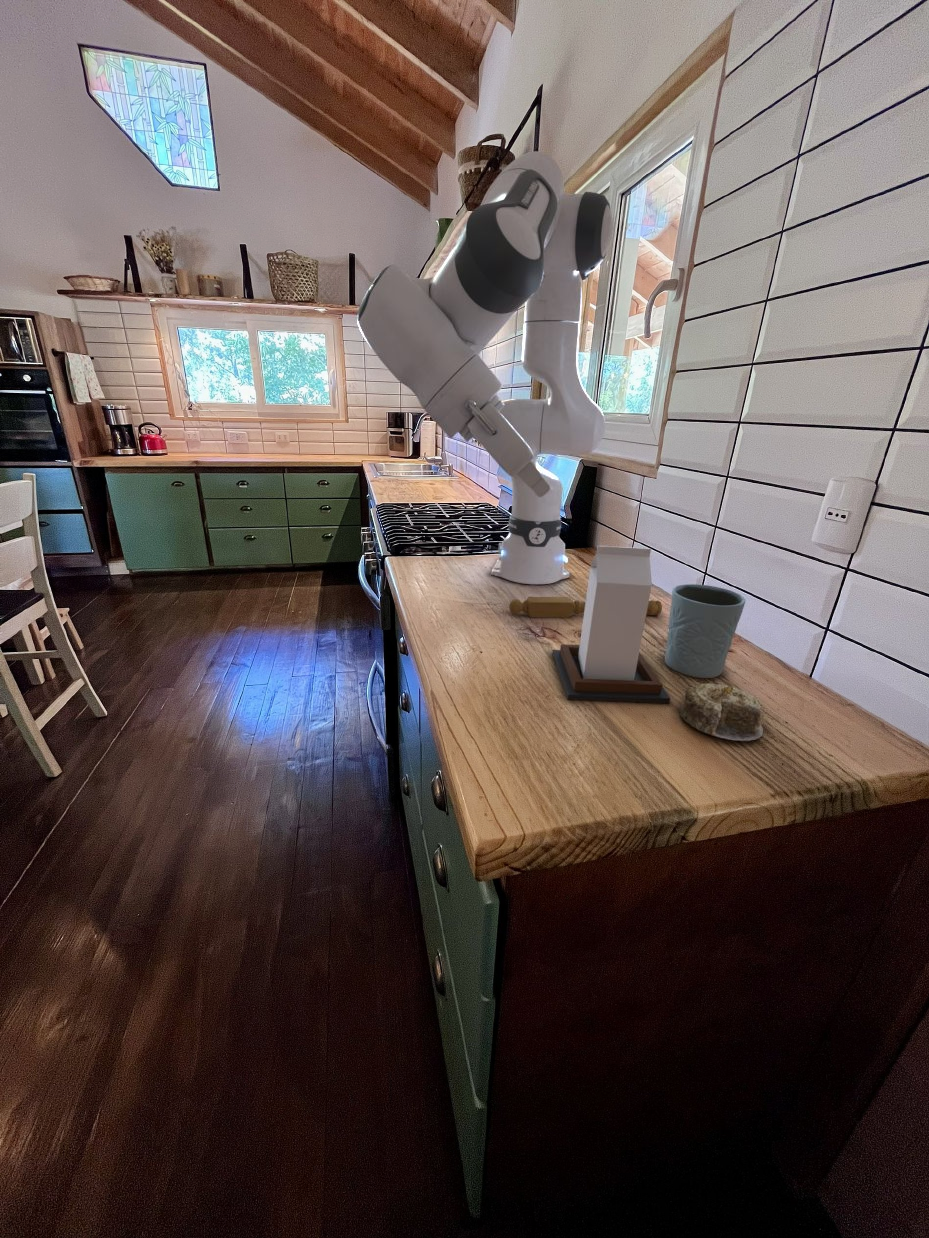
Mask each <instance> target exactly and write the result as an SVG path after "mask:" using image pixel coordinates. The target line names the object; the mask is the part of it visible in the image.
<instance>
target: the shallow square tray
mask: <svg viewBox="0 0 929 1238" xmlns="http://www.w3.org/2000/svg"><path fill="white" fill-rule="evenodd" d="M579 647H580V644H562V643H561V644H560V649H553V650H552V657H553V660H554V663H555V666H556V669H557V673H558V675H559V679H560V682H561V684H562V687H563V691H564V693H565V696H566V699H567V700H568V701H591V702H592V701H593V702H617V703H618V702H621V703H622V702H624V703H627V702H628V703H646V704H647V703H652V704H670V702H671V698H670V695H669V694H668V693H667V691H666V690H665V688H664V687H663V683H662V682H661V680H660V679H659V678H658V677H657V675H656V673H655V672H654V671H653V669H652V668H651V666H650V665H649V663H648V662H647V661H646V659H645V658H644V657H643V655H642V653H641V652H640V651H639V656H638V661H637V666H636V672H635V677H634V681H633V680H604V679H583V676H582V672H581V667H580V663H579V659H578V654H579Z"/></svg>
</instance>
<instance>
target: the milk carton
mask: <svg viewBox="0 0 929 1238" xmlns="http://www.w3.org/2000/svg"><path fill="white" fill-rule="evenodd" d="M651 552H652V548H647V547H646V548H645V547H630V546H629V547H626V546H611V545H597V546H596V551H595V555H594V558H593V560H592V562H591V564H590V567H589V574H588V581H587V589H586V595H585V596H586V597H585V602H586V603H585V610H584V613H583V618H582V626H581V632H580V641H579V645H580V647H579V654H578V659H579V663H580V667H581V672H582V676H583V679H604V680H633V681H634V677H635V672H636V666H637V661H638V656H639V652H640V650H641V644H642V639H643V634H644V628H645V624H646V618H647V608H648V602H649V601H650V598H651V597H650V596H651V592H652V586H653V580H652V570H651V568H652V567H651Z"/></svg>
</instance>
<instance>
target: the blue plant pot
mask: <svg viewBox="0 0 929 1238" xmlns="http://www.w3.org/2000/svg"><path fill="white" fill-rule="evenodd" d="M745 604H746V599H745V598H744V596H743V595H741V594H740V593H737V592H736V591H733V590H730V589H726V588H723V587H719V586H713V585H708V584H707V585H706V584H697V583H696V584H695V583H689V584H686V583H685V584H679V585H676V586H674V587H673V588H672V592H671V602H670V610H669V618H668V626H667V627H668V631H667V636H666V646H665V655H664V663H665V665H667V667H668V668H670V669H672V670H673V671H675V672H677V673H680V674H682V675H685V676H689V677H693V678H697V679H698V678H699V679H713V678H717V677H719V676H720V675H721V674H722V673H723V672H724V669H725V667H726V666H725V665H726V660H727V658H728V655H729V652H730V649H731V646H732V643H733V639H734V637H735V634H736V630H737V627H738V624H739V622H740V619H741V616H742V613H743V610H744V607H745Z"/></svg>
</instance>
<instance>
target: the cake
mask: <svg viewBox="0 0 929 1238" xmlns="http://www.w3.org/2000/svg"><path fill="white" fill-rule="evenodd" d="M678 713H679V715H680V717H681V718H682V720H684V721H685V722H686V723H687V724H689V725H690V726H691V727H692V728H694V729H696V730H697V731H700V732H702V733H704V734H707V735H710V736H713V737H716V738H719V739H724V740H729V741H736V742H737V741H738V742H740V741H741V742H750V741H754V740H755V741H756V740H758V739H760V738H761V737H763V734H764V732H763V731H764V728H763V724H762V720H763V717H764V711H763V704H761V701H760V700H759V699H758V698H757V697H756V696H754V695H751V694H750V693H749V692H745V691H743V690H740V689H738V688H736V687H733V686H728V685H725V684H720V683H719V684H718V683H716V684H715V683H714V684H713V683H700V684H695V685H694V686H691V687H690V686H689V687H687V688H686V689H685V691H684V703H682V704H681V705H680V706H679V708H678Z"/></svg>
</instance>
